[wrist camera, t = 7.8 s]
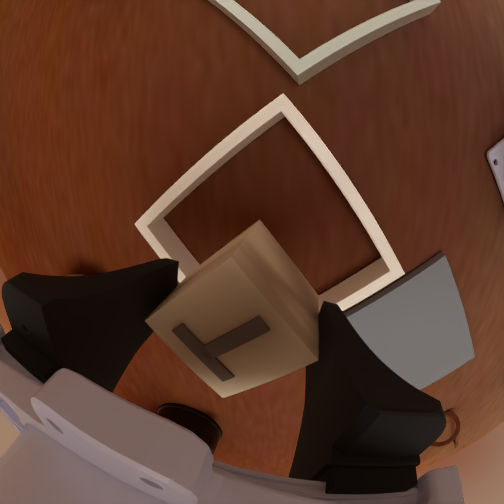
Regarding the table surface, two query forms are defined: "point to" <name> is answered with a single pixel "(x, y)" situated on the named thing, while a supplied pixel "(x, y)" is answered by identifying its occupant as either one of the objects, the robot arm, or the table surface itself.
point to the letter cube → (242, 315)
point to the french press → (193, 422)
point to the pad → (417, 324)
